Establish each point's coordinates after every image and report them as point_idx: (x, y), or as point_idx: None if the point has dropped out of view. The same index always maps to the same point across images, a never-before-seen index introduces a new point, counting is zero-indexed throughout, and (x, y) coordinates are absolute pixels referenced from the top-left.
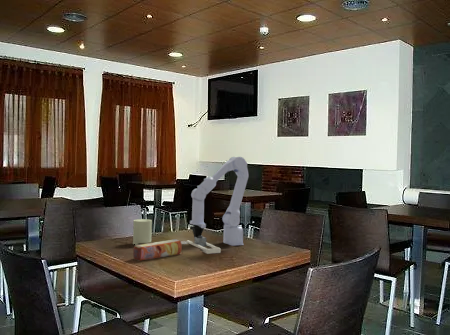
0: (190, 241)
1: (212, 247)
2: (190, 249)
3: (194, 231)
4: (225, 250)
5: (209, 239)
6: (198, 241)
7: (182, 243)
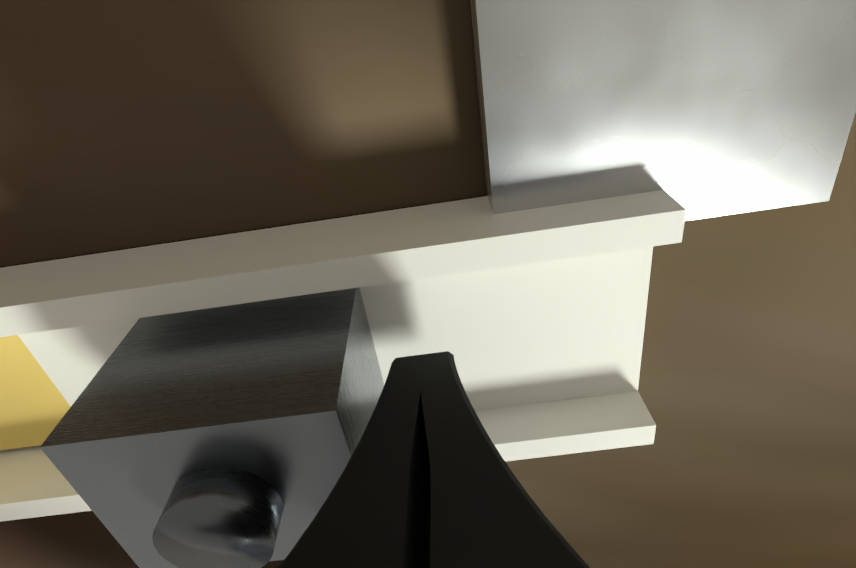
0: (506, 258)
1: (28, 476)
2: (49, 115)
3: (352, 562)
4: (55, 550)
5: (843, 547)
6: (101, 382)
7: (565, 40)
